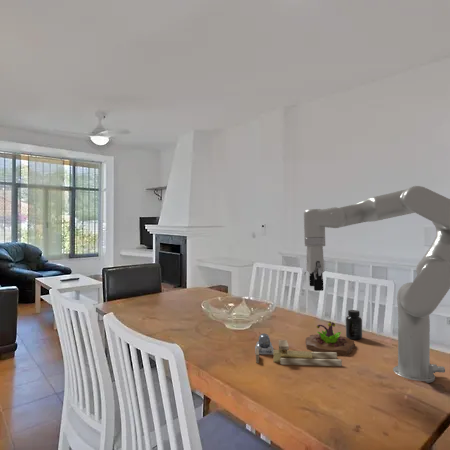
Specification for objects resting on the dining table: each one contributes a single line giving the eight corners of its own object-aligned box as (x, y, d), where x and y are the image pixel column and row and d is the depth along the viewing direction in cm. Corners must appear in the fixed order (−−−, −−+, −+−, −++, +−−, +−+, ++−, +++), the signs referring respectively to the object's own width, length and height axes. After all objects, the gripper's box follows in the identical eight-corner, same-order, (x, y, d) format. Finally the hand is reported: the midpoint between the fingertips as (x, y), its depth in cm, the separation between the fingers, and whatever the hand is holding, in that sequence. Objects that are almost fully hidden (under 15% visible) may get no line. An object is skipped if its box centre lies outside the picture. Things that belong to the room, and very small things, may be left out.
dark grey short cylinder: (265, 331, 144) (271, 340, 144) (256, 336, 144) (262, 346, 144) (266, 335, 139) (272, 344, 139) (256, 340, 139) (262, 350, 139)
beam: (336, 357, 134) (336, 341, 134) (341, 366, 126) (341, 348, 126) (255, 355, 136) (255, 339, 136) (256, 363, 128) (256, 346, 128)
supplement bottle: (364, 337, 158) (364, 310, 158) (358, 341, 153) (358, 313, 153) (349, 334, 163) (349, 308, 163) (343, 337, 158) (343, 311, 158)
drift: (311, 361, 132) (311, 351, 132) (312, 365, 128) (312, 355, 128) (273, 359, 134) (273, 349, 134) (273, 362, 130) (273, 353, 130)
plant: (301, 352, 141) (301, 324, 141) (308, 337, 160) (308, 312, 160) (354, 359, 134) (354, 329, 134) (355, 343, 152) (355, 317, 152)
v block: (255, 347, 146) (255, 340, 146) (272, 347, 145) (272, 341, 145) (255, 354, 138) (255, 347, 138) (274, 354, 137) (274, 347, 137)
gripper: (301, 241, 141) (302, 284, 140) (308, 243, 123) (309, 292, 123) (320, 241, 140) (321, 284, 140) (330, 242, 123) (331, 292, 123)
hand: (316, 288), depth 131 cm, fingers open, 9 cm apart
